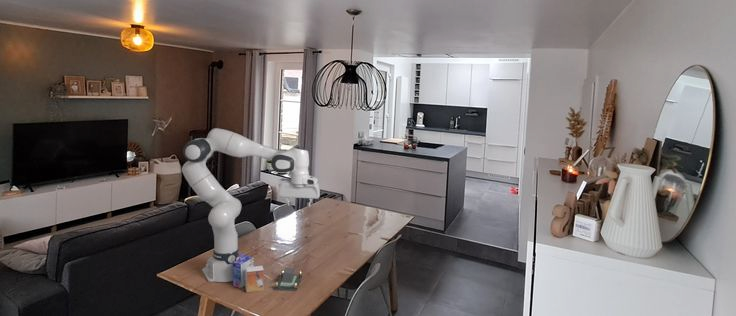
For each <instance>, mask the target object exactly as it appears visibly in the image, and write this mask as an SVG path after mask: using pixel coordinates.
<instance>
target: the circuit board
mask: <svg viewBox="0 0 736 316" xmlns="http://www.w3.org/2000/svg"><path fill="white" fill-rule="evenodd" d="M283 270H284V272H283V280H282V282H281V284H280V286H292V287H293V285H294V282H295V280H296V277H297V276H294V275H295V267H285V268H284V269H283Z"/></svg>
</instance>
